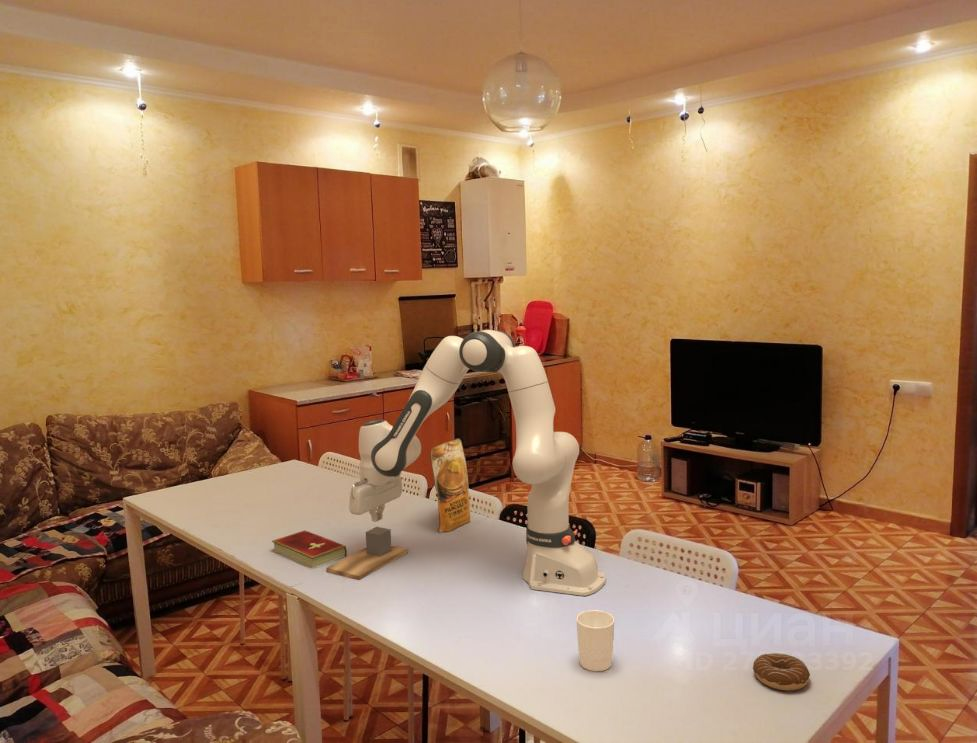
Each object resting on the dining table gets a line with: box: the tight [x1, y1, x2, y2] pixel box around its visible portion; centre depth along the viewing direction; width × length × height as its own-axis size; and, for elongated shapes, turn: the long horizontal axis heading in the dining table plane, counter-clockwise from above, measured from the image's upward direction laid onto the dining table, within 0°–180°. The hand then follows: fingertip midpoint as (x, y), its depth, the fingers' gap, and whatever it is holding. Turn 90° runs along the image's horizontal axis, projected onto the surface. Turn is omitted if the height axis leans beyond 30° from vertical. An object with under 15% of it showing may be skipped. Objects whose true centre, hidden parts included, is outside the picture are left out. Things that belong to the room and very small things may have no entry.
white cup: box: [576, 609, 615, 672], centre depth 153 cm, size 8×8×10 cm
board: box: [326, 544, 409, 581], centre depth 210 cm, size 12×22×1 cm, turn 149°
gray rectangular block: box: [365, 526, 392, 557], centre depth 214 cm, size 5×5×7 cm
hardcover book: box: [271, 530, 348, 569], centre depth 217 cm, size 12×21×4 cm, turn 48°
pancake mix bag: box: [430, 437, 471, 534], centre depth 237 cm, size 7×19×28 cm, turn 144°
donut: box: [752, 652, 811, 692], centre depth 145 cm, size 11×11×4 cm
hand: (377, 520), depth 213 cm, fingers closed
